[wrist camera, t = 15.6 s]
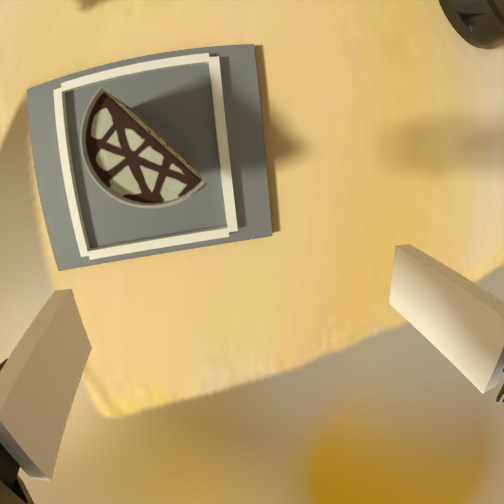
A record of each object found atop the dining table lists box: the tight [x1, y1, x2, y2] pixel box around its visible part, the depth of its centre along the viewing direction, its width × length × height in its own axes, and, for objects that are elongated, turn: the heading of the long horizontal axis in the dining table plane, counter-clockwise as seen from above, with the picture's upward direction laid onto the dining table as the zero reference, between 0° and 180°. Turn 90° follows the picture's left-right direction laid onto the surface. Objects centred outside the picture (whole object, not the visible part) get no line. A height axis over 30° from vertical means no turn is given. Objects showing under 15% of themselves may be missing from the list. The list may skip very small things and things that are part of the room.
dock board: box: [27, 44, 272, 271], centre depth 31 cm, size 26×22×2 cm
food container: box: [80, 87, 208, 208], centre depth 26 cm, size 12×6×10 cm, turn 44°
